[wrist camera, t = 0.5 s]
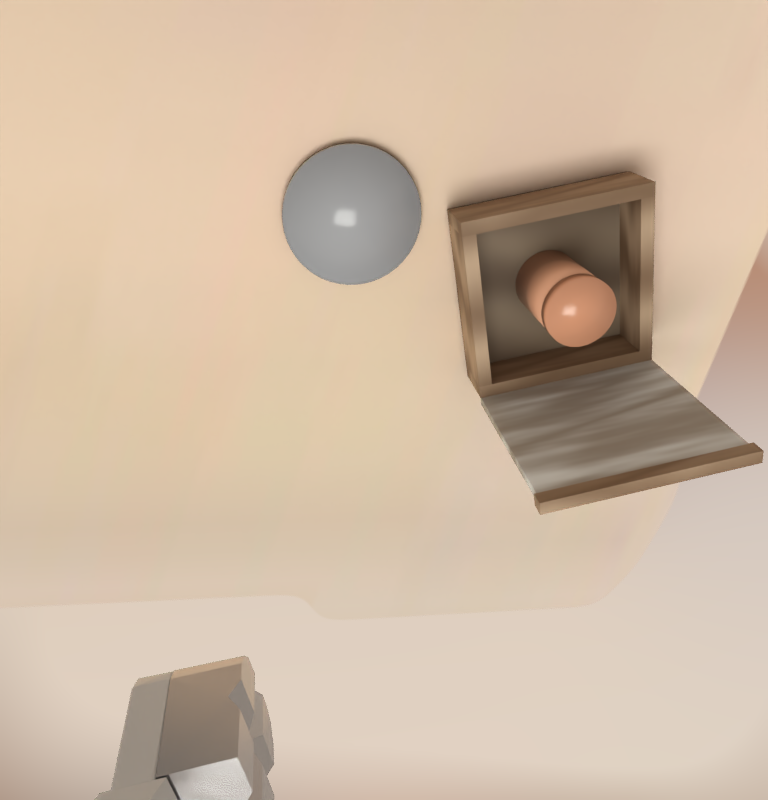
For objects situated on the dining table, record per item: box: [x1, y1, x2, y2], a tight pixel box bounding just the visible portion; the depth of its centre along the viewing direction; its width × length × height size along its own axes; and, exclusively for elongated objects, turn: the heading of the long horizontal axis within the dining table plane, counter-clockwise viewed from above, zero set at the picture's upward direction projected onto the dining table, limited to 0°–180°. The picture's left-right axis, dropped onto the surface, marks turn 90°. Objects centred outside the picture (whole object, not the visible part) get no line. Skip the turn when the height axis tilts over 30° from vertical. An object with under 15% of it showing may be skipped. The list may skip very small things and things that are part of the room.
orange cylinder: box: [516, 250, 617, 347], centre depth 52 cm, size 5×5×7 cm
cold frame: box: [447, 172, 763, 515], centre depth 48 cm, size 15×14×18 cm
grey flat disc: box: [282, 143, 421, 285], centre depth 51 cm, size 10×10×1 cm
